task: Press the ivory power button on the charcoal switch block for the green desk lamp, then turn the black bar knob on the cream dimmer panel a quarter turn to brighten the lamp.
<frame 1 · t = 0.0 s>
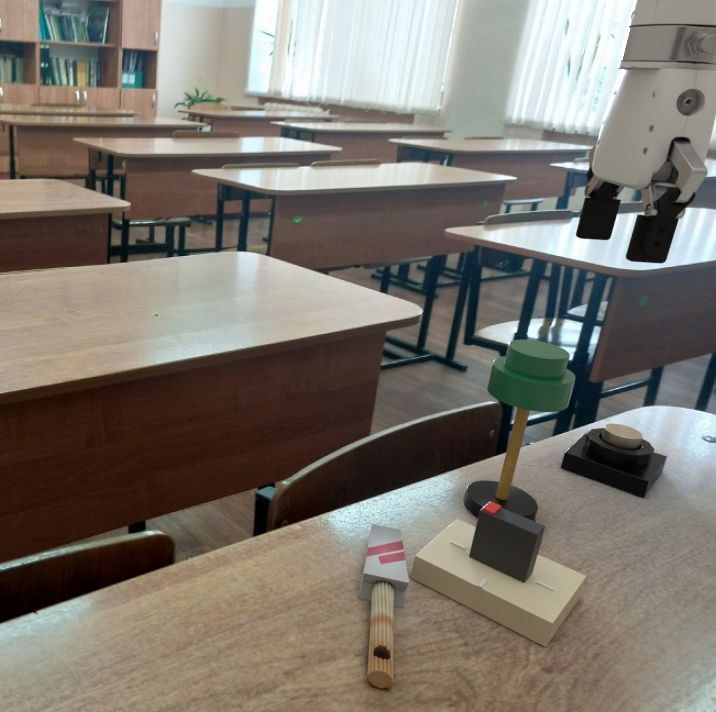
hand: (616, 249, 69), 29 cm above the table, tool pointing down, fingers open, 9 cm apart
dimmer: (494, 588, 67), on the table
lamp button: (621, 437, 88), point 4 cm above the table, slide at 0.1 cm
dimmer knob: (506, 540, 65), point 5 cm above the table, hinge at 0.0°
lamp switch: (611, 470, 89), on the table
desk lamp: (498, 509, 80), on the table
paintbrush: (380, 606, 64), on the table
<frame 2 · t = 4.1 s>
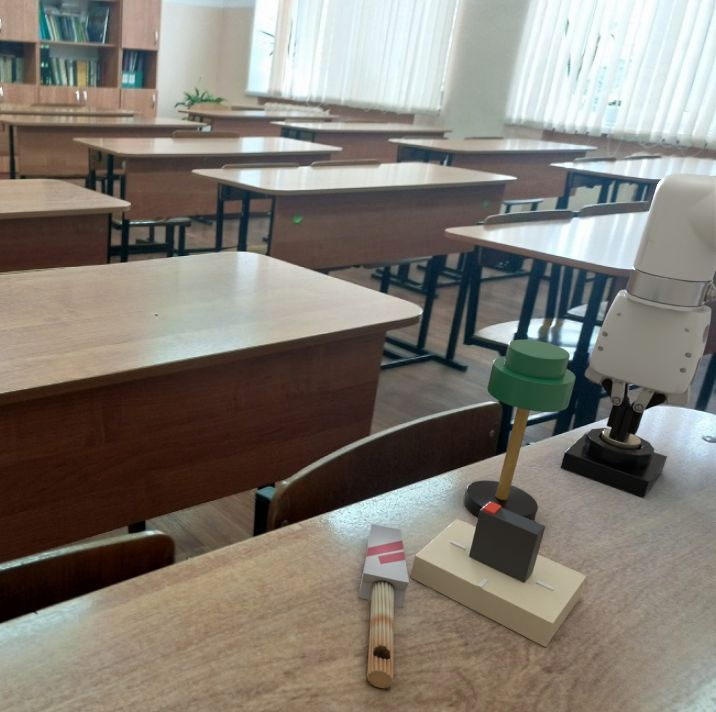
hand: (619, 435, 88), 5 cm above the table, tool pointing down, fingers closed
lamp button: (619, 442, 88), point 4 cm above the table, slide at -0.6 cm, touching gripper
everything else where it was.
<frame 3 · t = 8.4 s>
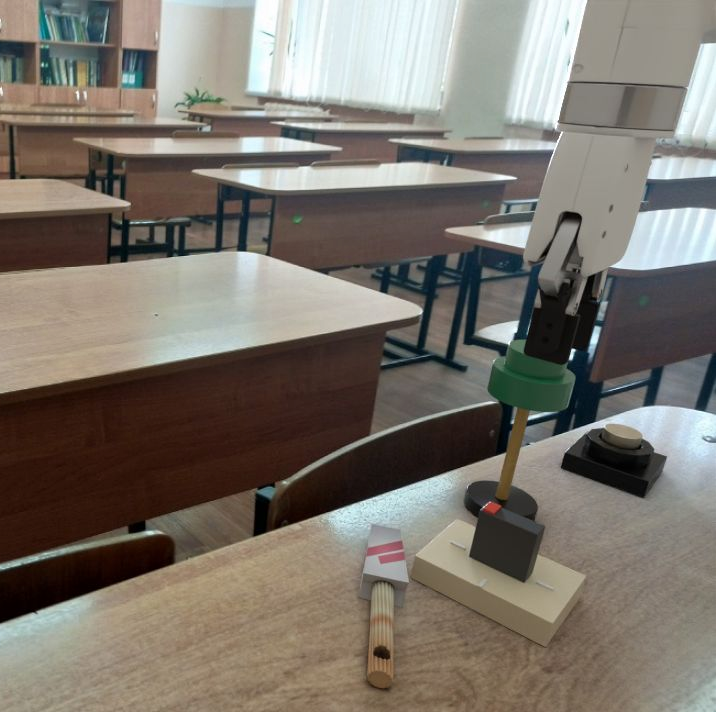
hand: (555, 350, 59), 23 cm above the table, tool pointing down, fingers open, 4 cm apart
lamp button: (621, 437, 88), point 4 cm above the table, slide at 0.1 cm
everything else where it was.
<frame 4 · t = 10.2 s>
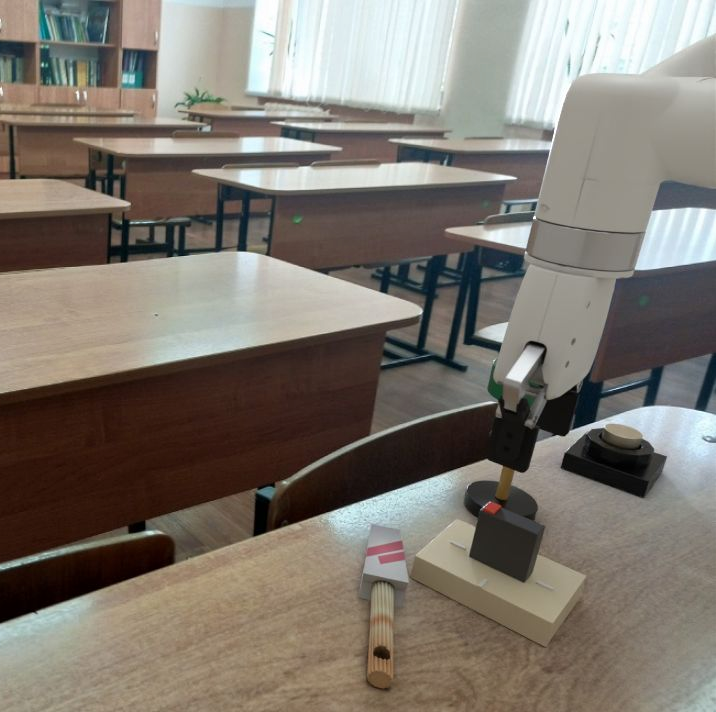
hand: (528, 447, 62), 15 cm above the table, tool pointing down, fingers open, 9 cm apart
nothing on the table moved.
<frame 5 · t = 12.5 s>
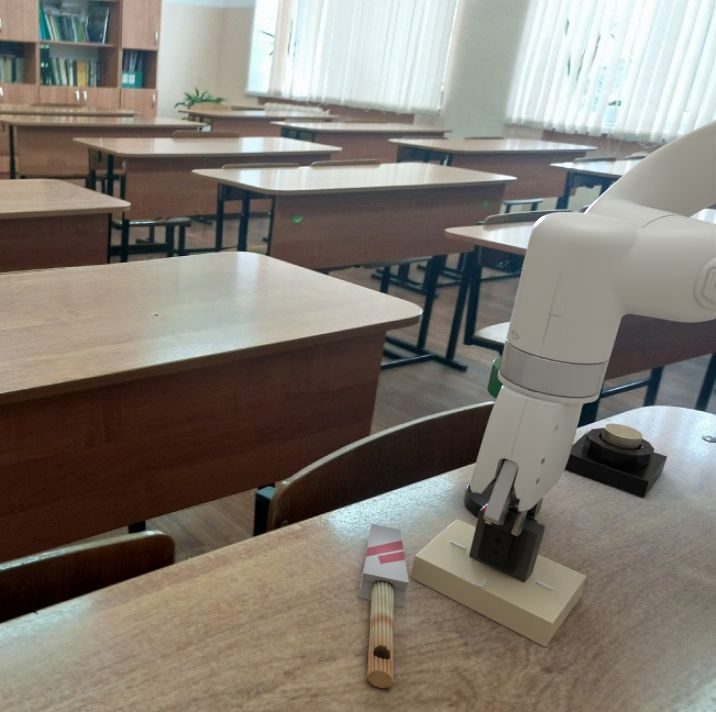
hand: (502, 556, 66), 3 cm above the table, tool pointing down, fingers closed on dimmer knob, 2 cm apart
dimmer knob: (506, 540, 65), point 5 cm above the table, hinge at 0.0°, touching gripper
everything else where it was.
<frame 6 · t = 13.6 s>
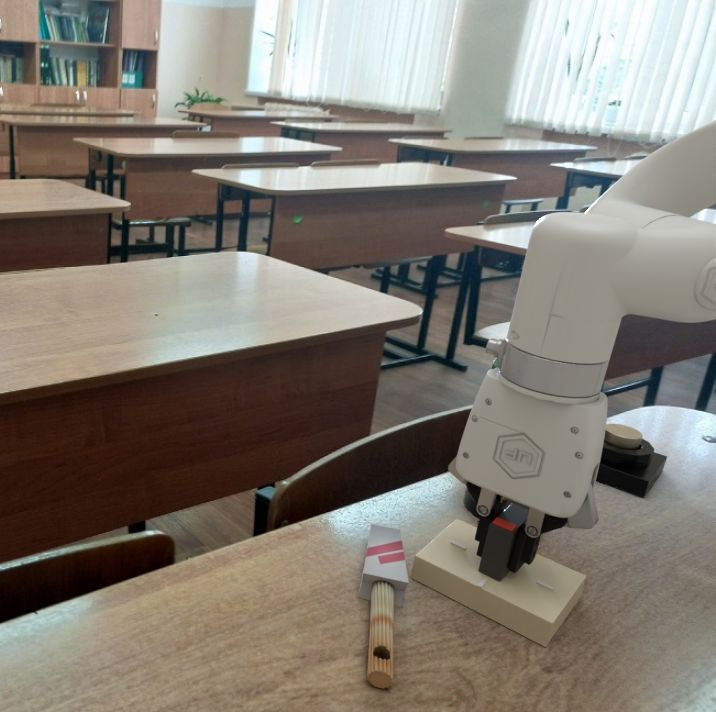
hand: (502, 556, 66), 3 cm above the table, tool pointing down, fingers closed on dimmer knob, 2 cm apart
dimmer knob: (506, 540, 65), point 5 cm above the table, hinge at 89.5°, touching gripper
everything else where it was.
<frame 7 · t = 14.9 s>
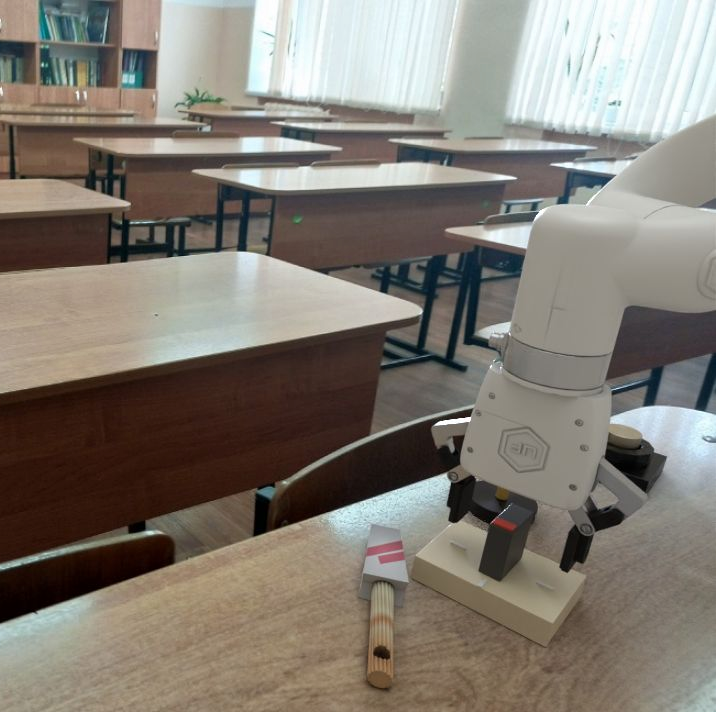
hand: (511, 539, 65), 5 cm above the table, tool pointing down, fingers open, 9 cm apart
dimmer knob: (506, 540, 65), point 5 cm above the table, hinge at 89.7°
everything else where it was.
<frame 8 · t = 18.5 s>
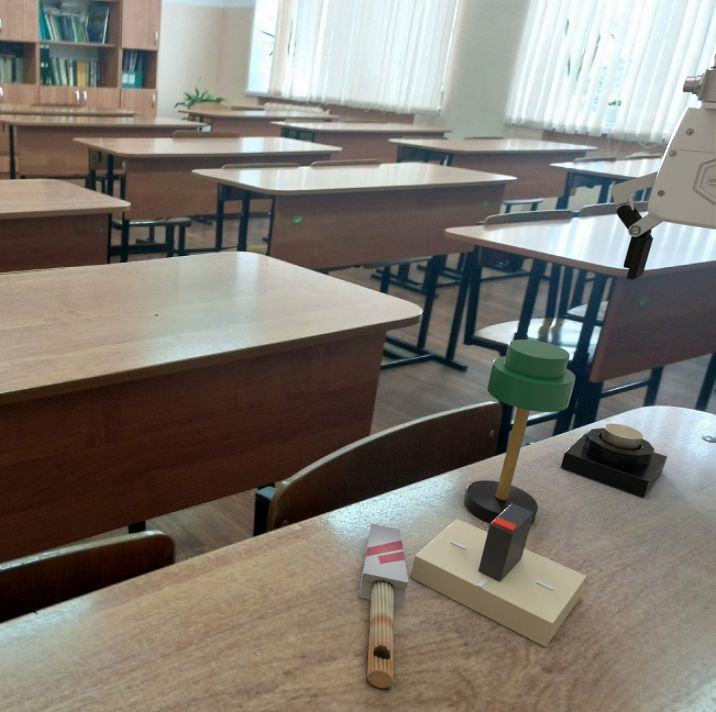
hand: (692, 288, 68), 26 cm above the table, tool pointing down, fingers open, 9 cm apart
nothing on the table moved.
at the end: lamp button pushed in 1.1 cm at the most during the clip, back to where it started at the end; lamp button slide at 0.1 cm; dimmer knob at +90° (first picture: +0°) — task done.
